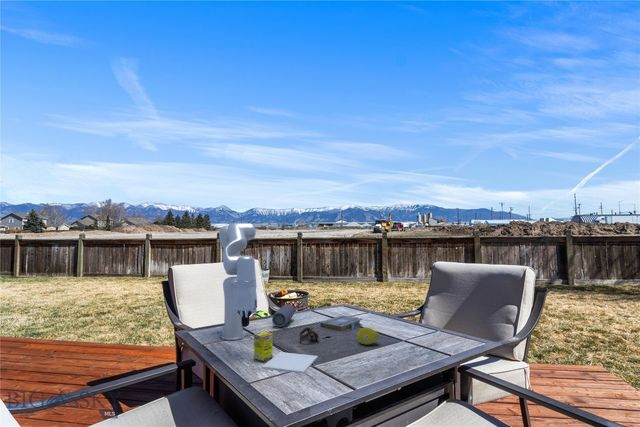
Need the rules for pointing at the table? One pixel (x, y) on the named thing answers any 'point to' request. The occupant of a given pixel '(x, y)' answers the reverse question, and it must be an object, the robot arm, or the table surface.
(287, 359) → the flat white board
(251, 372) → the table surface
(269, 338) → the supplement box
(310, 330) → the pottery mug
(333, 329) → the book
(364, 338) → the lemon
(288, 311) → the bluetooth speaker
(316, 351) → the table surface
